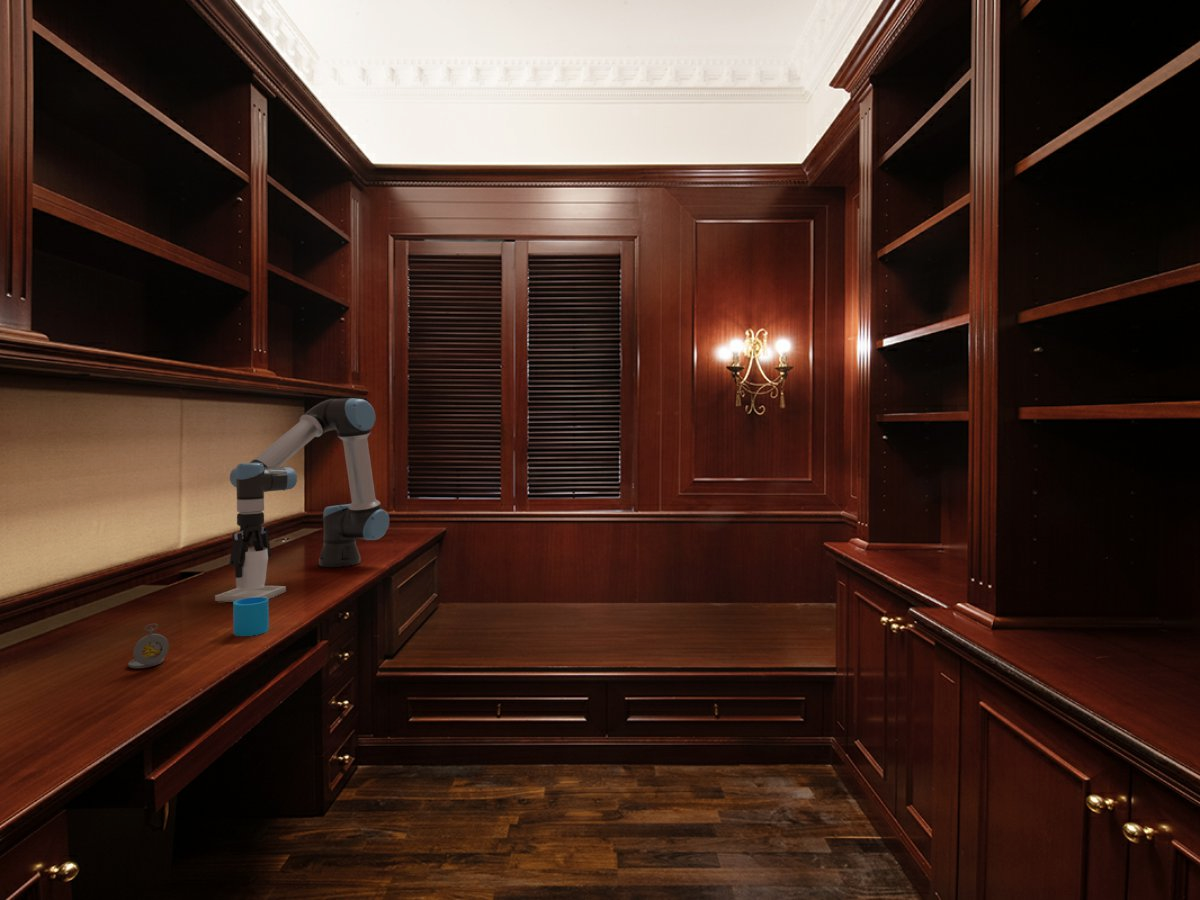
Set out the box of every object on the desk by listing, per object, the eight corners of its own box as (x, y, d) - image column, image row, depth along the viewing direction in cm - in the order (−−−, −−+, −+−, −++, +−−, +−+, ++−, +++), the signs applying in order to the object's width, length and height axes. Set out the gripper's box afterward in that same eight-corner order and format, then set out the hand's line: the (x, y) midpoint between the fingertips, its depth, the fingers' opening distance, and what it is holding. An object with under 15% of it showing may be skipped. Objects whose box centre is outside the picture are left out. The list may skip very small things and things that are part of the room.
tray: (246, 590, 214) (246, 584, 214) (285, 592, 212) (285, 586, 212) (215, 602, 200) (215, 595, 200) (257, 603, 198) (257, 597, 198)
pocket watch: (144, 659, 151) (143, 615, 151) (178, 660, 150) (177, 617, 150) (114, 672, 143) (113, 626, 142) (150, 673, 142) (149, 627, 142)
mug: (258, 637, 167) (258, 605, 167) (226, 636, 167) (226, 605, 167) (282, 623, 179) (281, 593, 179) (252, 623, 179) (251, 593, 179)
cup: (254, 591, 201) (254, 552, 200) (229, 590, 203) (228, 551, 202) (274, 585, 210) (274, 547, 209) (250, 583, 211) (249, 546, 211)
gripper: (262, 507, 217) (262, 575, 217) (214, 516, 195) (215, 591, 196) (283, 508, 216) (283, 576, 216) (237, 517, 194) (238, 592, 195)
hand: (251, 583), depth 206 cm, fingers closed on cup, 9 cm apart
